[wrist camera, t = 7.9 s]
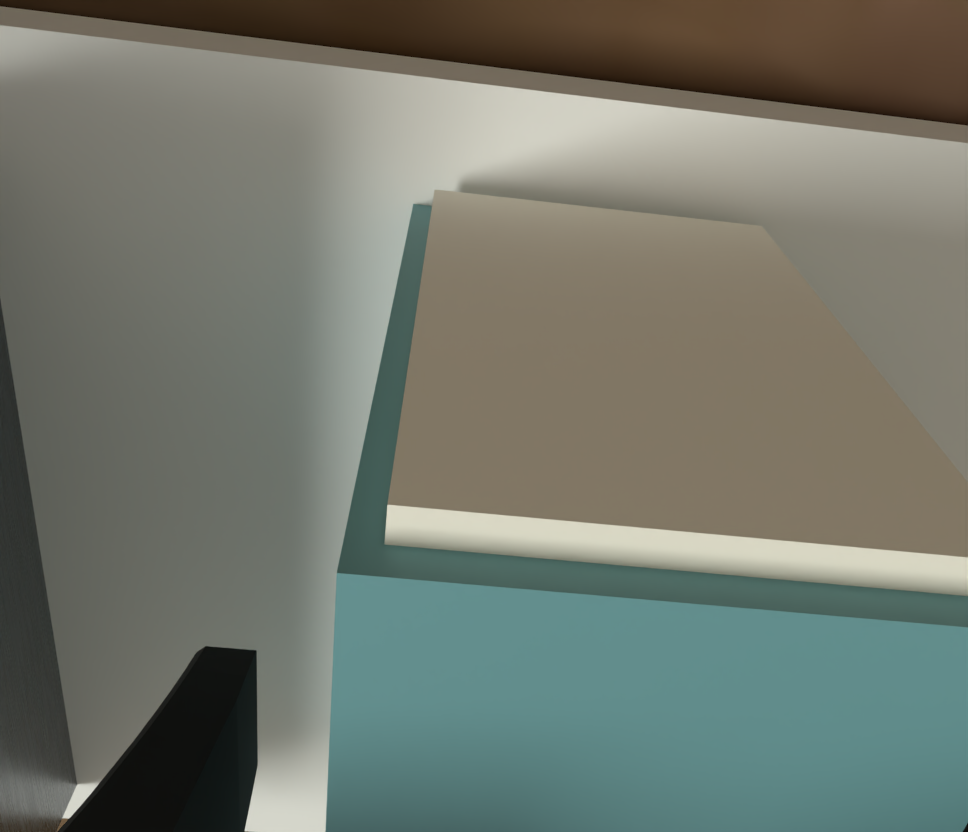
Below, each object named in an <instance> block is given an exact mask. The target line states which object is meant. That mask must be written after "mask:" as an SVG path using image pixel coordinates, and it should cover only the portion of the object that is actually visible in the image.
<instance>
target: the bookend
mask: <svg viewBox="0 0 968 832" xmlns="http://www.w3.org/2000/svg"><path fill="white" fill-rule="evenodd" d="M76 786H77V780H76V774H75V768H74V761H73V755H72V749H71V742H70V736H69V730H68V723H67V717H66V711H65V704H64V698H63V692H62V685H61V679H60V673H59V666H58V660H57V654H56V647H55V641H54V635H53V629H52V622H51V616H50V610H49V603H48V597H47V591H46V584H45V578H44V572H43V565H42V559H41V553H40V546H39V540H38V534H37V527H36V521H35V515H34V508H33V502H32V496H31V489H30V483H29V477H28V471H27V464H26V458H25V452H24V445H23V439H22V433H21V426H20V420H19V414H18V407H17V401H16V395H15V388H14V382H13V376H12V369H11V363H10V357H9V350H8V344H7V338H6V331H5V325H4V319H3V313H2V306H1V300H0V832H56V831H57V829H58V826H59V824H60V822H61V820H62V817H63V815H64V813H65V811H66V808H67V806H68V804H69V802H70V799H71V797H72V795H73V793H74V790H75V788H76Z"/></svg>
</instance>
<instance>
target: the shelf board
mask: <svg viewBox="0 0 968 832" xmlns="http://www.w3.org/2000/svg"><path fill="white" fill-rule="evenodd" d="M434 190H444V191H453V192H462V193H471V194H480V195H489V196H498V197H507V198H516V199H525V200H534V201H543V202H552V203H561V204H570V205H579V206H588V207H597V208H606V209H615V210H624V211H633V212H641V213H650V214H659V215H668V216H677V217H686V218H695V219H704V220H713V221H722V222H731V223H740V224H749V225H758V226H762V227H763V228H764V229H765V230H766V232H767V233H768V234H769V235H770V237H771V238H772V239H773V240H774V242H775V243H776V244H777V245H778V247H779V248H780V249H781V250H782V252H783V253H784V254H785V255H786V257H787V258H788V259H789V260H790V262H791V263H792V264H793V265H794V267H795V268H796V269H797V270H798V272H799V273H800V274H801V275H802V276H803V278H804V279H805V280H806V281H807V283H808V284H809V285H810V286H811V288H812V289H813V290H814V291H815V293H816V294H817V295H818V296H819V298H820V299H821V300H822V301H823V303H824V304H825V305H826V306H827V308H828V309H829V310H830V311H831V313H832V314H833V315H834V316H835V318H836V319H837V320H838V321H839V323H840V324H841V325H842V326H843V328H844V329H845V330H846V331H847V332H848V334H849V335H850V336H851V337H852V339H853V340H854V341H855V342H856V344H857V345H858V346H859V347H860V349H861V350H862V351H863V352H864V354H865V355H866V356H867V357H868V359H869V360H870V361H871V362H872V364H873V365H874V366H875V367H876V369H877V370H878V371H879V372H880V374H881V375H882V376H883V377H884V379H885V380H886V381H887V382H888V384H889V385H890V386H891V387H892V389H893V390H894V391H895V392H896V393H897V395H898V396H899V397H900V398H901V400H902V401H903V402H904V403H905V405H906V406H907V407H908V408H909V410H910V411H911V412H912V413H913V415H914V416H915V417H916V418H917V420H918V421H919V422H920V423H921V425H922V426H923V427H924V428H925V430H926V431H927V432H928V433H929V435H930V436H931V437H932V438H933V440H934V441H935V442H936V443H937V445H938V446H939V447H940V448H941V449H942V451H943V452H944V453H945V454H946V456H947V457H948V458H949V459H950V461H951V462H952V463H953V464H954V466H955V467H956V468H957V469H958V471H959V472H960V473H961V474H962V476H963V477H964V478H965V479H966V481H967V482H968V126H967V125H959V124H951V123H943V122H935V121H927V120H919V119H911V118H903V117H894V116H886V115H878V114H870V113H862V112H854V111H846V110H838V109H830V108H821V107H813V106H805V105H797V104H789V103H781V102H773V101H765V100H757V99H748V98H740V97H732V96H724V95H716V94H708V93H700V92H692V91H684V90H675V89H667V88H659V87H651V86H643V85H635V84H627V83H619V82H611V81H602V80H594V79H586V78H578V77H570V76H562V75H554V74H546V73H538V72H529V71H521V70H513V69H505V68H497V67H489V66H481V65H473V64H465V63H456V62H448V61H440V60H432V59H424V58H416V57H408V56H400V55H392V54H383V53H375V52H367V51H359V50H351V49H343V48H335V47H327V46H319V45H310V44H302V43H294V42H286V41H278V40H270V39H262V38H254V37H246V36H237V35H229V34H221V33H213V32H205V31H197V30H189V29H181V28H173V27H164V26H156V25H148V24H140V23H132V22H124V21H116V20H108V19H100V18H91V17H83V16H75V15H67V14H59V13H51V12H43V11H35V10H27V9H18V8H10V7H2V6H0V300H1V306H2V313H3V319H4V325H5V331H6V338H7V344H8V350H9V357H10V363H11V369H12V376H13V382H14V388H15V395H16V401H17V407H18V414H19V420H20V426H21V433H22V439H23V445H24V452H25V458H26V464H27V471H28V477H29V483H30V489H31V496H32V502H33V508H34V515H35V521H36V527H37V534H38V540H39V546H40V553H41V559H42V565H43V572H44V578H45V584H46V591H47V597H48V603H49V610H50V616H51V622H52V629H53V635H54V641H55V647H56V654H57V660H58V666H59V673H60V679H61V685H62V692H63V698H64V704H65V711H66V717H67V723H68V730H69V736H70V742H71V749H72V755H73V761H74V768H75V774H76V780H77V786H76V788H75V790H74V793H73V795H72V797H71V799H70V802H69V804H68V806H67V808H66V811H65V813H64V815H63V817H62V818H70V817H71V816H72V815H73V814H74V813H75V812H76V810H77V809H78V808H79V807H80V806H81V805H82V804H83V802H84V801H85V800H86V799H87V798H88V797H89V795H90V794H91V793H92V792H93V791H94V789H95V788H96V787H97V786H98V784H99V783H100V782H101V781H102V779H103V778H104V777H105V776H106V774H107V773H108V772H109V771H110V769H111V768H112V767H113V766H114V764H115V763H116V762H117V761H118V760H119V758H120V757H121V756H122V755H123V753H124V752H125V751H126V750H127V748H128V747H129V746H130V745H131V743H132V742H133V741H134V740H135V738H136V737H137V736H138V734H139V733H140V732H141V730H142V729H143V728H144V726H145V725H146V724H147V722H148V721H149V720H150V718H151V717H152V716H153V714H154V713H155V712H156V710H157V709H158V708H159V706H160V705H161V704H162V702H163V701H164V699H165V698H166V697H167V695H168V694H169V692H170V691H171V690H172V688H173V687H174V685H175V684H176V682H177V681H178V679H179V678H180V676H181V675H182V674H183V672H184V671H185V669H186V668H187V666H188V664H189V663H190V661H191V660H192V658H193V657H194V655H195V654H196V652H198V651H199V650H201V649H202V648H204V647H205V646H210V647H223V648H235V649H247V650H257V740H258V766H257V771H256V776H255V781H254V786H253V791H252V796H251V801H250V806H249V811H248V816H247V821H246V826H245V831H252V832H325V831H326V807H327V784H328V761H329V738H330V715H331V692H332V669H333V646H334V623H335V599H336V576H337V569H338V564H339V559H340V554H341V550H342V545H343V540H344V535H345V530H346V526H347V521H348V516H349V511H350V506H351V501H352V497H353V492H354V487H355V482H356V477H357V473H358V468H359V463H360V458H361V453H362V449H363V444H364V439H365V434H366V429H367V424H368V420H369V415H370V410H371V405H372V400H373V396H374V391H375V386H376V381H377V376H378V372H379V367H380V362H381V357H382V352H383V347H384V343H385V338H386V333H387V328H388V323H389V319H390V314H391V309H392V304H393V299H394V295H395V290H396V285H397V280H398V275H399V270H400V266H401V261H402V256H403V251H404V246H405V242H406V237H407V232H408V227H409V222H410V218H411V213H412V208H413V204H419V205H428V206H432V203H433V196H434Z"/></svg>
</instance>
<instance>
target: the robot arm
mask: <svg viewBox="0 0 968 832" xmlns="http://www.w3.org/2000/svg"><path fill="white" fill-rule="evenodd" d="M257 766H258V740H257V650H247V649H235V648H223V647H210V646H205V647H204V648H202V649H201V650H199V651H198V652H196V654H195V655H194V657H193V658H192V660H191V661H190V663H189V664H188V666H187V668H186V669H185V671H184V672H183V674H182V675H181V676H180V678H179V679H178V681H177V682H176V684H175V685H174V687H173V688H172V690H171V691H170V692H169V694H168V695H167V697H166V698H165V699H164V701H163V702H162V704H161V705H160V706H159V708H158V709H157V710H156V712H155V713H154V714H153V716H152V717H151V718H150V720H149V721H148V722H147V724H146V725H145V726H144V728H143V729H142V730H141V732H140V733H139V734H138V736H137V737H136V738H135V740H134V741H133V742H132V743H131V745H130V746H129V747H128V748H127V750H126V751H125V752H124V753H123V755H122V756H121V757H120V758H119V760H118V761H117V762H116V763H115V764H114V766H113V767H112V768H111V769H110V771H109V772H108V773H107V774H106V776H105V777H104V778H103V779H102V781H101V782H100V783H99V784H98V786H97V787H96V788H95V789H94V791H93V792H92V793H91V794H90V795H89V797H88V798H87V799H86V800H85V801H84V802H83V804H82V805H81V806H80V807H79V808H78V809H77V810H76V812H75V813H74V814H73V815H72V816H71V817H70V818H69V819H68V821H67V822H66V823H65V824H64V825H63V826H62V827H61V828H60V830H59V831H58V832H244V831H245V826H246V821H247V816H248V811H249V806H250V801H251V796H252V791H253V786H254V781H255V776H256V771H257ZM963 832H968V823H967V825H966V827H965V829H964V830H963Z"/></svg>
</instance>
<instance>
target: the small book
mask: <svg viewBox="0 0 968 832" xmlns="http://www.w3.org/2000/svg"><path fill="white" fill-rule="evenodd" d="M967 823H968V482H967V481H966V479H965V478H964V477H963V476H962V474H961V473H960V472H959V471H958V469H957V468H956V467H955V466H954V464H953V463H952V462H951V461H950V459H949V458H948V457H947V456H946V454H945V453H944V452H943V451H942V449H941V448H940V447H939V446H938V445H937V443H936V442H935V441H934V440H933V438H932V437H931V436H930V435H929V433H928V432H927V431H926V430H925V428H924V427H923V426H922V425H921V423H920V422H919V421H918V420H917V418H916V417H915V416H914V415H913V413H912V412H911V411H910V410H909V408H908V407H907V406H906V405H905V403H904V402H903V401H902V400H901V398H900V397H899V396H898V395H897V393H896V392H895V391H894V390H893V389H892V387H891V386H890V385H889V384H888V382H887V381H886V380H885V379H884V377H883V376H882V375H881V374H880V372H879V371H878V370H877V369H876V367H875V366H874V365H873V364H872V362H871V361H870V360H869V359H868V357H867V356H866V355H865V354H864V352H863V351H862V350H861V349H860V347H859V346H858V345H857V344H856V342H855V341H854V340H853V339H852V337H851V336H850V335H849V334H848V332H847V331H846V330H845V329H844V328H843V326H842V325H841V324H840V323H839V321H838V320H837V319H836V318H835V316H834V315H833V314H832V313H831V311H830V310H829V309H828V308H827V306H826V305H825V304H824V303H823V301H822V300H821V299H820V298H819V296H818V295H817V294H816V293H815V291H814V290H813V289H812V288H811V286H810V285H809V284H808V283H807V281H806V280H805V279H804V278H803V276H802V275H801V274H800V273H799V272H798V270H797V269H796V268H795V267H794V265H793V264H792V263H791V262H790V260H789V259H788V258H787V257H786V255H785V254H784V253H783V252H782V250H781V249H780V248H779V247H778V245H777V244H776V243H775V242H774V240H773V239H772V238H771V237H770V235H769V234H768V233H767V232H766V230H765V229H764V228H763V227H762V226H758V225H749V224H740V223H731V222H722V221H713V220H704V219H695V218H686V217H677V216H668V215H659V214H650V213H641V212H633V211H624V210H615V209H606V208H597V207H588V206H579V205H570V204H561V203H552V202H543V201H534V200H525V199H516V198H507V197H498V196H489V195H480V194H471V193H462V192H453V191H444V190H434V196H433V203H432V206H428V205H419V204H413V208H412V213H411V218H410V222H409V227H408V232H407V237H406V242H405V246H404V251H403V256H402V261H401V266H400V270H399V275H398V280H397V285H396V290H395V295H394V299H393V304H392V309H391V314H390V319H389V323H388V328H387V333H386V338H385V343H384V347H383V352H382V357H381V362H380V367H379V372H378V376H377V381H376V386H375V391H374V396H373V400H372V405H371V410H370V415H369V420H368V424H367V429H366V434H365V439H364V444H363V449H362V453H361V458H360V463H359V468H358V473H357V477H356V482H355V487H354V492H353V497H352V501H351V506H350V511H349V516H348V521H347V526H346V530H345V535H344V540H343V545H342V550H341V554H340V559H339V564H338V569H337V576H336V599H335V623H334V646H333V669H332V692H331V715H330V738H329V761H328V784H327V807H326V831H325V832H963V830H964V829H965V827H966V825H967Z"/></svg>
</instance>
